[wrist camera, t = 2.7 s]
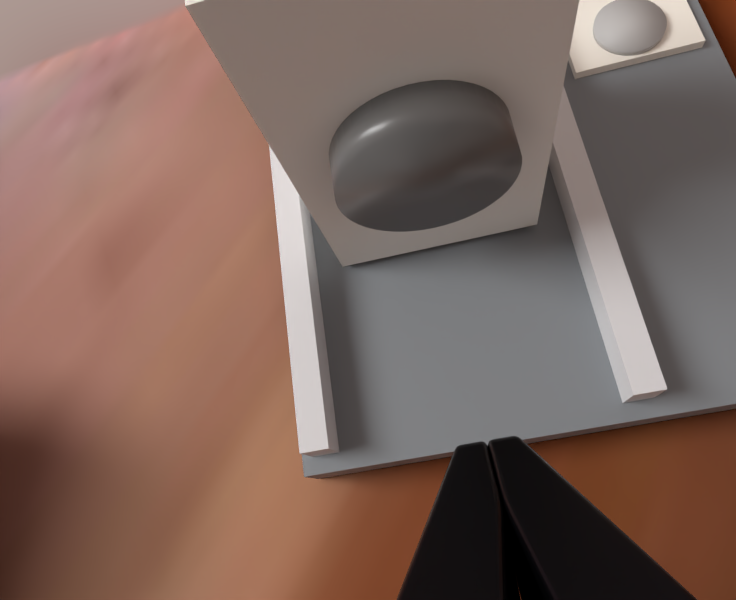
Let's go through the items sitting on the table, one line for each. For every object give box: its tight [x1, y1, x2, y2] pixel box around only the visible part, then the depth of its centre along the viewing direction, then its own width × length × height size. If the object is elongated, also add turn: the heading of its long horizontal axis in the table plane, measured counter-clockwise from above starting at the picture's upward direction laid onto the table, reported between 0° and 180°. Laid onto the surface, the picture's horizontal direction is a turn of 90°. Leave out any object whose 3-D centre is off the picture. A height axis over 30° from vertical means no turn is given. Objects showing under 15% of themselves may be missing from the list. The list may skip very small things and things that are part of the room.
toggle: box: [185, 0, 579, 267], centre depth 13 cm, size 6×6×10 cm
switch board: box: [269, 0, 736, 479], centre depth 18 cm, size 18×15×3 cm
